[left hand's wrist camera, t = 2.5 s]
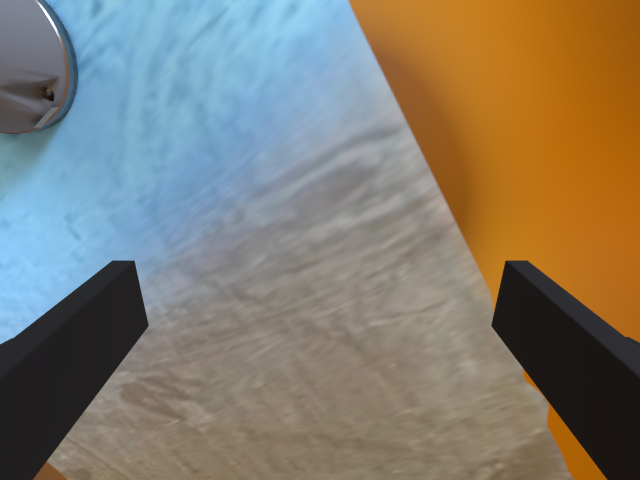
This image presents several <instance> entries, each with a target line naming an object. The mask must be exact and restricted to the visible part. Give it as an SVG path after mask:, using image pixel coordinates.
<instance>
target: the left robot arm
mask: <svg viewBox="0 0 640 480" xmlns="http://www.w3.org/2000/svg"><path fill="white" fill-rule="evenodd" d="M77 77H78V72H77V63H76V57H75V53H74V49H73V46H72V43H71V41H70V38H69V36H68V34H67V32H66V30H65V28H64V26H63V24H62V22H61V21H60V19H59V18H58V16H57V15H56V13H55V12H54V11H53V9H52V8H51V7H50V6H49V5H48V3H47V2H46V1H45V0H0V133H8V134H17V133H26V132H34V131H39V130H43V129H45V128H48V127H50V126H52V125H54V124H55V123H56V122H58V121H59V120H60V119H61V118H62V117H63V116H64V115H65V114H66V112H67V111H68V109H69V108H70V106H71V104H72V102H73V99H74V96H75V93H76V88H77ZM148 326H149V325H148V321H147V316H146V312H145V307H144V303H143V298H142V293H141V289H140V284H139V280H138V275H137V271H136V266H135V261H112V262H110V263H109V264H108V265H107V266H105V267H104V268H103V269H101V270H100V271H99V272H98V273H96V274H95V275H94V276H92V277H91V278H90V279H89V280H87V281H86V282H85V283H83V284H82V285H81V286H80V287H78V288H77V289H76V290H75V291H73V292H72V293H71V294H69V295H68V296H67V297H66V298H64V299H63V300H62V301H60V302H59V303H58V304H57V305H55V306H54V307H53V308H51V309H50V310H49V311H48V312H46V313H45V314H44V315H43V316H41V317H40V318H39V319H37V320H36V321H35V322H34V323H32V324H31V325H30V326H28V327H27V328H26V329H25V330H23V331H22V332H21V333H19V334H18V335H17V336H16V337H14V338H12V339H10V340H8V341H6V342H4V343H2V344H0V480H33V478H34V477H35V476H36V474H37V473H38V472H39V470H40V469H41V468H42V467H43V465H44V464H45V463H46V461H47V460H48V459H49V457H50V456H51V455H52V453H53V452H54V451H55V449H56V448H57V447H58V445H59V444H60V443H61V441H62V440H63V439H64V437H65V436H66V435H67V433H68V432H69V431H70V429H71V428H72V427H73V425H74V424H75V423H76V421H77V420H78V419H79V417H80V416H81V415H82V413H83V412H84V411H85V410H86V408H87V407H88V406H89V404H90V403H91V402H92V400H93V399H94V398H95V396H96V395H97V394H98V392H99V391H100V390H101V388H102V387H103V386H104V384H105V383H106V382H107V380H108V379H109V378H110V376H111V375H112V374H113V372H114V371H115V370H116V368H117V367H118V366H119V364H120V363H121V362H122V360H123V359H124V358H125V356H126V355H127V354H128V353H129V351H130V350H131V349H132V347H133V346H134V345H135V343H136V342H137V341H138V339H139V338H140V337H141V335H142V334H143V333H144V331H145V330H146V329H147V327H148ZM491 326H492V327H493V329H494V330H495V331H496V333H497V334H498V335H499V337H500V338H501V339H502V341H503V342H504V343H505V345H506V346H507V347H508V349H509V350H510V351H511V353H512V354H513V355H514V356H515V358H516V359H517V360H518V362H519V363H520V364H521V366H522V367H523V368H524V370H525V371H526V372H527V374H528V375H529V376H530V378H531V379H532V380H533V382H534V383H535V384H536V386H537V387H538V388H539V390H540V391H541V392H542V394H543V395H544V396H545V398H546V399H547V400H548V402H549V403H550V404H551V406H552V407H553V408H554V409H555V411H556V412H557V413H558V415H559V416H560V417H561V419H562V420H563V421H564V423H565V424H566V425H567V427H568V428H569V429H570V431H571V432H572V433H573V435H574V436H575V437H576V439H577V440H578V441H579V443H580V444H581V445H582V447H583V448H584V449H585V451H586V452H587V453H588V454H589V456H590V457H591V459H592V460H593V461H594V463H595V464H596V465H597V466H598V468H599V469H600V470H601V472H602V473H603V474H604V476H605V477H606V478H607V480H640V343H639V342H637V341H635V340H633V339H631V338H629V337H624V336H623V335H622V334H620V333H619V332H618V331H617V330H615V329H614V328H613V327H612V326H610V325H609V324H608V323H606V322H605V321H604V320H603V319H601V318H600V317H599V316H597V315H596V314H595V313H594V312H592V311H591V310H590V309H589V308H587V307H586V306H585V305H583V304H582V303H581V302H580V301H578V300H577V299H576V298H574V297H573V296H572V295H571V294H569V293H568V292H567V291H565V290H564V289H563V288H562V287H560V286H559V285H558V284H557V283H555V282H554V281H553V280H551V279H550V278H549V277H548V276H546V275H545V274H544V273H542V272H541V271H540V270H539V269H537V268H536V267H535V266H533V265H532V264H531V263H530V262H528V261H505V266H504V271H503V275H502V280H501V284H500V289H499V293H498V298H497V303H496V307H495V312H494V316H493V321H492V325H491Z"/></svg>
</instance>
